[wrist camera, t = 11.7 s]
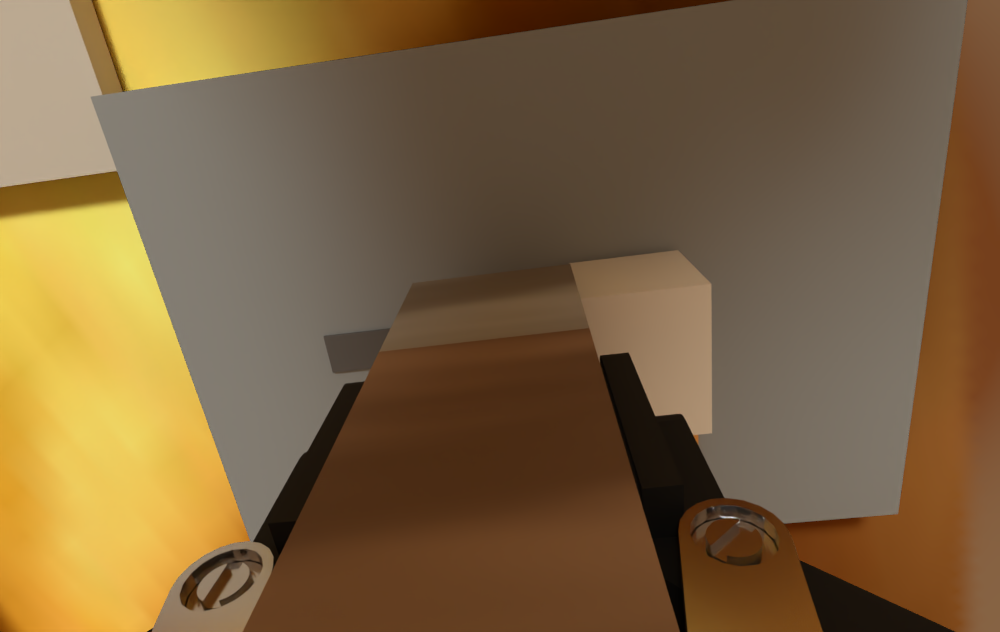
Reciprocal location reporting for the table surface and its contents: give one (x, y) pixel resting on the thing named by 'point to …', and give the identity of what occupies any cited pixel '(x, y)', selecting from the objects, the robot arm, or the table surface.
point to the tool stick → (475, 481)
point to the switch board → (570, 217)
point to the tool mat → (52, 91)
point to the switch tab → (655, 327)
